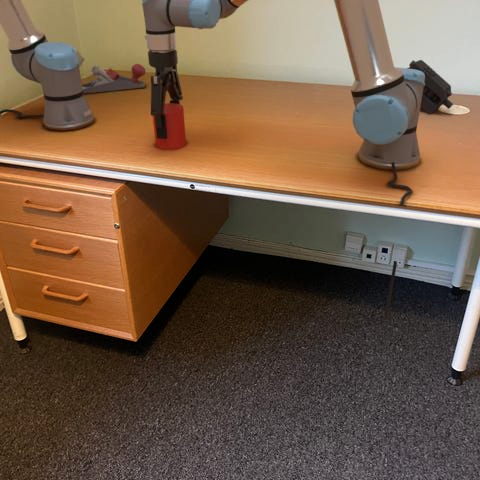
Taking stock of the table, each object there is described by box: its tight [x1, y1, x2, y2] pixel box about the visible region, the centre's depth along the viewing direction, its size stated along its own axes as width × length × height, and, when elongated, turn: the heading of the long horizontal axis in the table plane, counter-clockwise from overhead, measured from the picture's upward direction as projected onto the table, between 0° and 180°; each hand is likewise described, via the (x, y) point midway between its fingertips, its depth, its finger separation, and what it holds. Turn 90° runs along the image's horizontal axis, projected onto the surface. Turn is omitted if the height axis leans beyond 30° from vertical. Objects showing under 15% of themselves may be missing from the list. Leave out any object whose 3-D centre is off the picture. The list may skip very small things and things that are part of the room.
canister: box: [152, 102, 187, 150], centre depth 148 cm, size 9×9×10 cm
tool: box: [407, 59, 454, 114], centre depth 170 cm, size 6×19×15 cm, turn 51°
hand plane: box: [75, 49, 146, 95], centre depth 194 cm, size 7×31×15 cm, turn 107°
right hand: (169, 130), depth 149 cm, fingers open, 11 cm apart
